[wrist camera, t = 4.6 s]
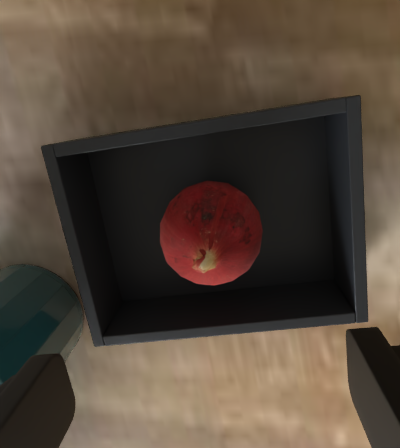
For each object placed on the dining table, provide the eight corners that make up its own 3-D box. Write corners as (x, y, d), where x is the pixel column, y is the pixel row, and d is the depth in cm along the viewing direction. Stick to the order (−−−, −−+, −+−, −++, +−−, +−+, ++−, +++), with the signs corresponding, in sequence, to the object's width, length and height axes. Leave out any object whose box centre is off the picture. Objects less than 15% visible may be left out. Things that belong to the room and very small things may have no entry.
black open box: (117, 307, 28) (94, 347, 23) (76, 139, 25) (39, 146, 20) (343, 283, 26) (368, 322, 21) (333, 98, 23) (361, 94, 18)
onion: (173, 167, 24) (147, 194, 17) (262, 176, 24) (278, 206, 16) (168, 251, 26) (142, 311, 18) (251, 260, 26) (261, 324, 18)
